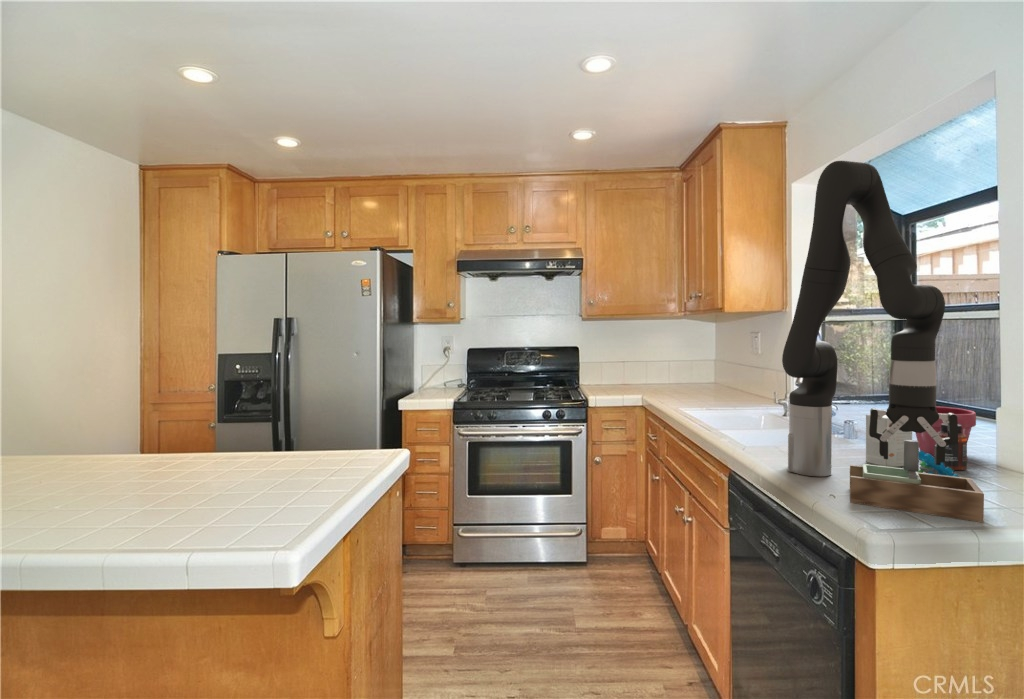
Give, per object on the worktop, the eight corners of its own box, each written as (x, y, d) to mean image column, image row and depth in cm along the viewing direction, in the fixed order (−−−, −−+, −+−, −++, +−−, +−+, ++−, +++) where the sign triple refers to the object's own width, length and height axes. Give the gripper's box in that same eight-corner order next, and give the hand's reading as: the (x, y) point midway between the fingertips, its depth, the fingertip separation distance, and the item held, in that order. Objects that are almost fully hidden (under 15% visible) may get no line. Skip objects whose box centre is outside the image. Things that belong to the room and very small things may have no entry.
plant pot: (934, 461, 133) (935, 414, 132) (896, 448, 147) (897, 406, 146) (990, 461, 132) (991, 413, 132) (946, 448, 146) (947, 405, 146)
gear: (975, 484, 108) (934, 450, 110) (952, 502, 109) (912, 468, 111) (947, 477, 118) (910, 446, 121) (927, 493, 119) (891, 462, 122)
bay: (850, 502, 103) (850, 476, 103) (849, 488, 112) (850, 464, 112) (983, 522, 91) (984, 493, 91) (970, 504, 100) (971, 478, 100)
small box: (890, 459, 135) (891, 412, 134) (912, 466, 128) (913, 416, 128) (864, 461, 133) (865, 414, 133) (885, 468, 127) (886, 418, 127)
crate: (863, 496, 103) (864, 440, 102) (862, 486, 109) (863, 433, 109) (920, 504, 97) (921, 445, 97) (915, 493, 104) (916, 438, 104)
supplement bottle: (963, 466, 127) (964, 423, 127) (969, 472, 122) (970, 427, 122) (933, 463, 130) (934, 421, 130) (938, 469, 125) (938, 425, 125)
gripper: (869, 382, 101) (869, 460, 102) (962, 386, 93) (961, 470, 94) (868, 379, 108) (867, 453, 108) (955, 382, 100) (953, 461, 100)
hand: (911, 461), depth 101 cm, fingers open, 8 cm apart
